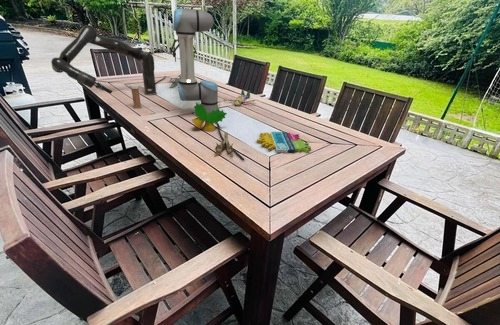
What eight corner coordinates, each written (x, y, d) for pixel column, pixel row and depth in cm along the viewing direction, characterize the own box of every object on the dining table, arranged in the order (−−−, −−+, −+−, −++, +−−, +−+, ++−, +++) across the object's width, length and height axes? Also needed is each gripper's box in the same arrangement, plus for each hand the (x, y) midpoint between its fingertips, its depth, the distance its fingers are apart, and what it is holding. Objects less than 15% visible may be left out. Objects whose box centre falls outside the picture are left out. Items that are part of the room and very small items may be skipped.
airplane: (160, 80, 270) (159, 70, 265) (190, 78, 283) (189, 68, 278) (168, 89, 242) (167, 78, 236) (201, 87, 255) (201, 77, 250)
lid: (140, 88, 185) (140, 85, 184) (132, 89, 181) (132, 86, 180) (137, 86, 188) (136, 84, 187) (129, 87, 184) (128, 84, 184)
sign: (313, 150, 142) (258, 149, 139) (312, 153, 143) (258, 152, 140) (301, 132, 164) (254, 130, 161) (301, 134, 165) (254, 133, 162)
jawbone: (234, 135, 144) (233, 125, 135) (233, 160, 138) (232, 151, 129) (217, 135, 144) (216, 125, 135) (216, 160, 138) (214, 150, 129)
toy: (261, 91, 228) (254, 99, 202) (261, 99, 231) (253, 108, 205) (231, 87, 233) (220, 95, 207) (230, 95, 236) (219, 104, 210)
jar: (142, 107, 192) (139, 86, 184) (135, 108, 188) (132, 87, 181) (139, 105, 194) (136, 84, 187) (133, 107, 191) (129, 85, 184)
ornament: (218, 133, 171) (224, 110, 169) (221, 134, 163) (227, 111, 161) (186, 125, 162) (192, 101, 160) (189, 126, 155) (195, 101, 153)
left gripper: (87, 73, 168) (113, 87, 175) (90, 75, 180) (114, 87, 188) (82, 84, 168) (108, 97, 175) (85, 84, 180) (109, 96, 188)
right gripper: (198, 33, 207) (199, 61, 218) (165, 31, 201) (168, 60, 211) (199, 33, 201) (200, 62, 211) (165, 32, 194) (168, 62, 205)
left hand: (111, 92), depth 181 cm, fingers open, 8 cm apart
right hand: (184, 61), depth 211 cm, fingers open, 13 cm apart
